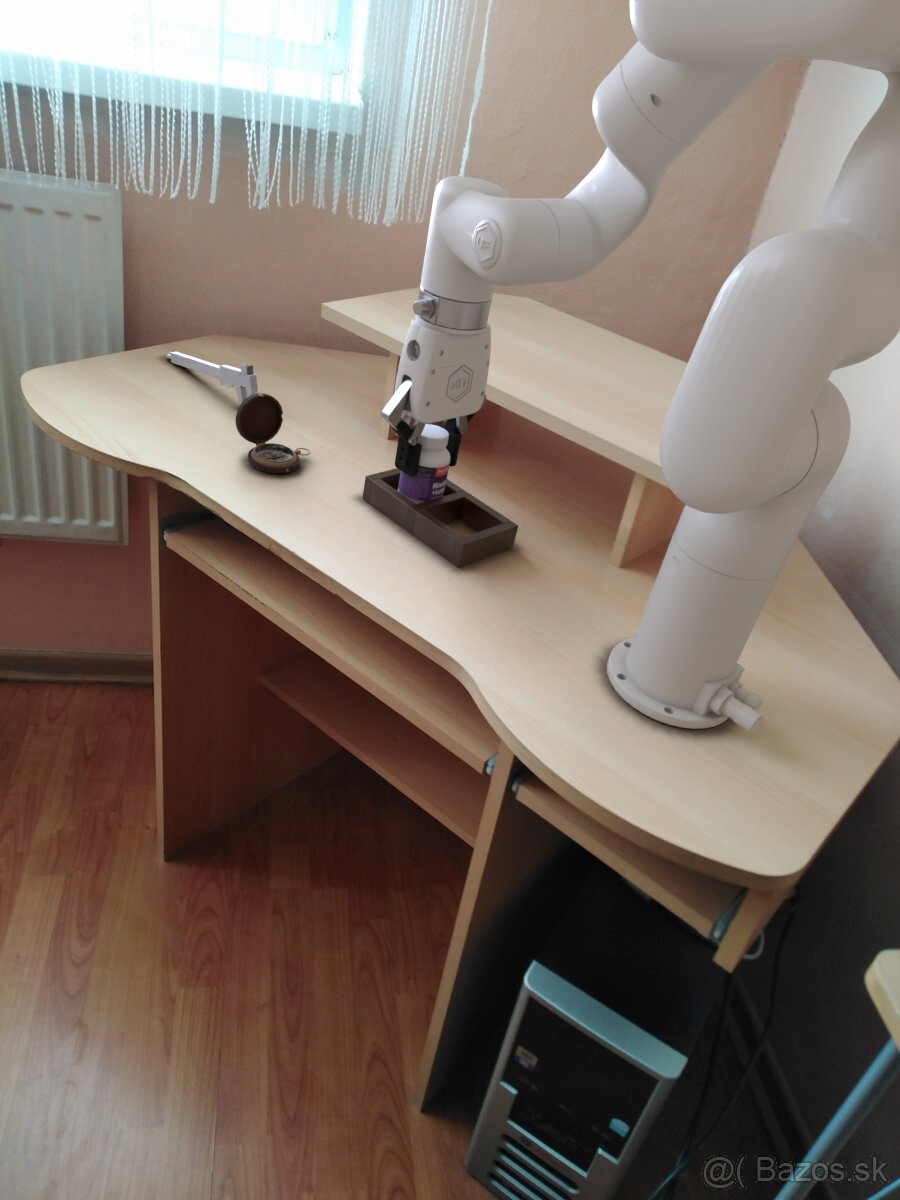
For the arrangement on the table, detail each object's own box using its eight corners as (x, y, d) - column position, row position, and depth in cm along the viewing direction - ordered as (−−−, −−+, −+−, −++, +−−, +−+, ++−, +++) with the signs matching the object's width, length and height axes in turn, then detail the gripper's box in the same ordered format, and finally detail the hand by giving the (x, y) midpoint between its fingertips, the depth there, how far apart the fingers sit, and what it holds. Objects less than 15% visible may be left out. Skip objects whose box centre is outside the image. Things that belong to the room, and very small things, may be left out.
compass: (264, 479, 104) (269, 421, 100) (231, 449, 109) (234, 393, 105) (322, 468, 109) (328, 413, 105) (288, 440, 114) (293, 386, 110)
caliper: (256, 413, 118) (259, 368, 115) (250, 415, 118) (252, 369, 114) (171, 357, 129) (172, 314, 125) (165, 358, 128) (165, 315, 124)
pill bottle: (435, 522, 103) (449, 445, 97) (390, 511, 103) (402, 433, 98) (444, 502, 107) (459, 428, 102) (402, 491, 108) (414, 416, 102)
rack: (512, 547, 102) (518, 525, 100) (458, 568, 96) (463, 544, 95) (417, 483, 111) (421, 461, 109) (362, 498, 105) (365, 475, 103)
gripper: (416, 328, 85) (390, 496, 95) (533, 315, 96) (498, 466, 106) (366, 303, 89) (346, 466, 99) (484, 292, 100) (455, 440, 110)
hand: (425, 465), depth 102 cm, fingers closed on pill bottle, 5 cm apart
